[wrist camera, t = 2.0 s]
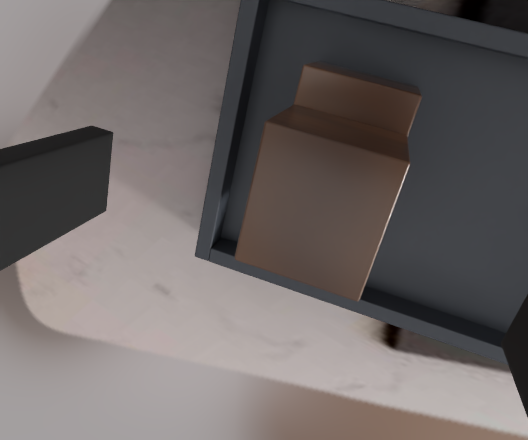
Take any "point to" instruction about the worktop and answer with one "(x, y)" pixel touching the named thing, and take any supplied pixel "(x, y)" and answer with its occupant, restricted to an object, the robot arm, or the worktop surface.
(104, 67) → the worktop surface
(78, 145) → the robot arm
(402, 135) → the brown t-shaped block
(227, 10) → the worktop surface
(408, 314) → the tray
